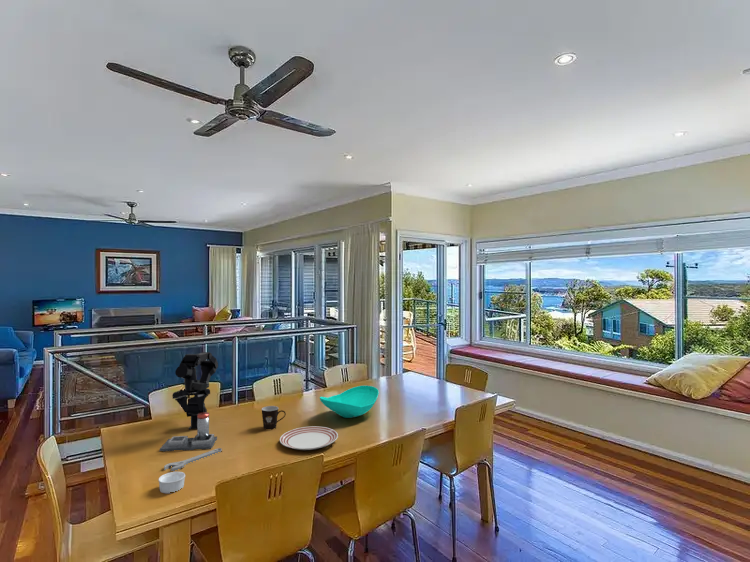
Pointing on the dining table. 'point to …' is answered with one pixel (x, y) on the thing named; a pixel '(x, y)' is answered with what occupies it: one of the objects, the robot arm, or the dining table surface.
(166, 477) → the ramekin
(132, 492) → the dining table surface
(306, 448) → the dinner plate
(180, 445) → the fitting board
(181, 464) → the adjustable wrench
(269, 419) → the coffee mug
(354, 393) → the table top decor
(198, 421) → the silver and red cylinder
